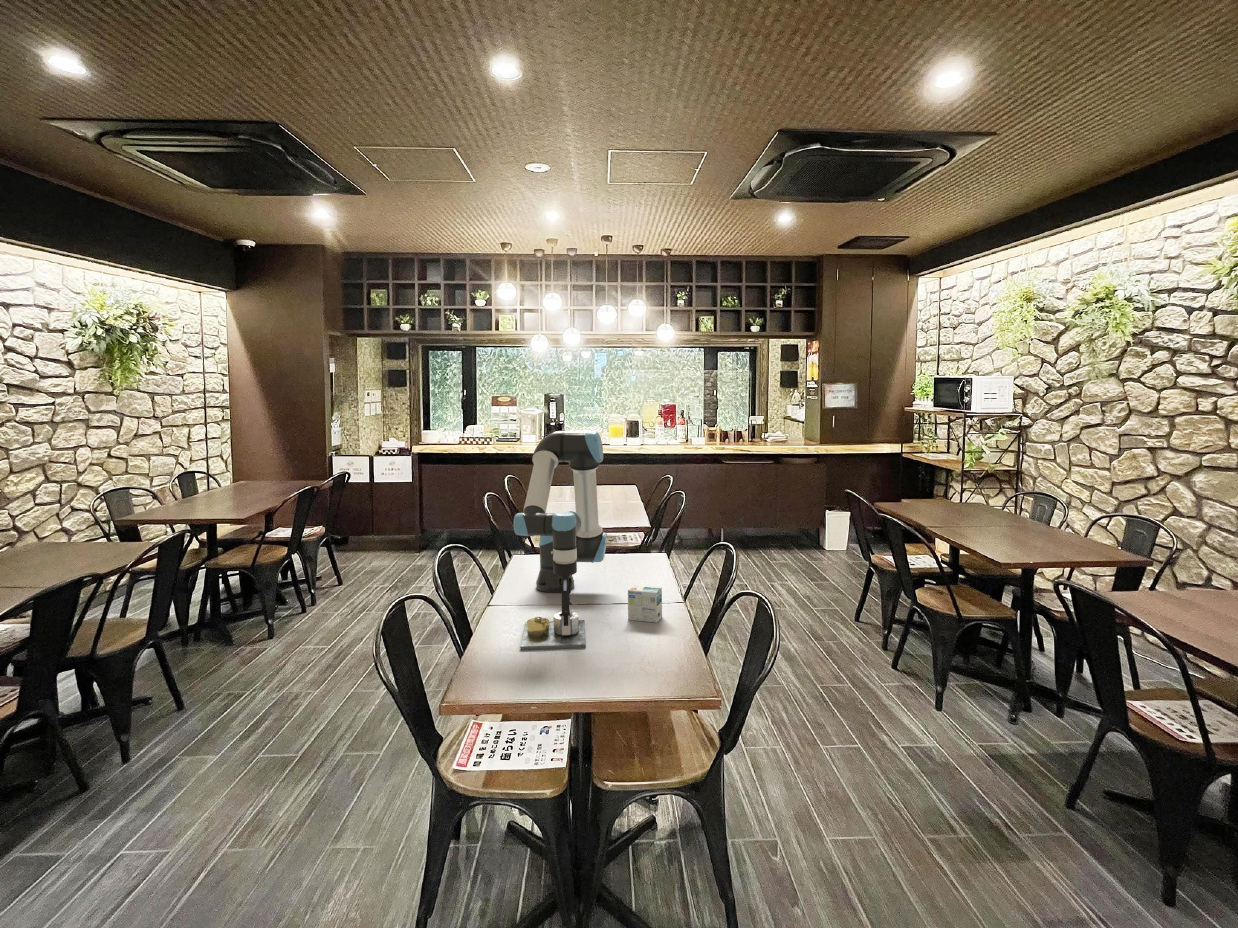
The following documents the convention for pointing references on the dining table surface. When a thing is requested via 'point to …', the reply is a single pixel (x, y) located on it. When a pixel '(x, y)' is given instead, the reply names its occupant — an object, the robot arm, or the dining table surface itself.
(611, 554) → the dining table surface
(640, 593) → the light bulb box
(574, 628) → the planet gear
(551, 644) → the carrier
